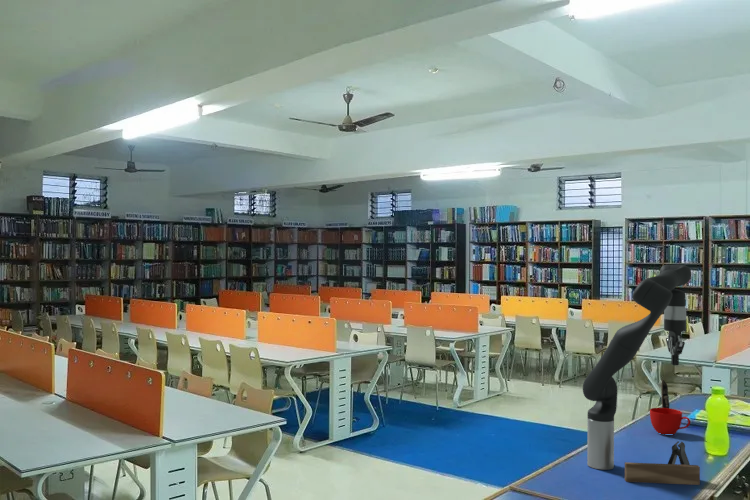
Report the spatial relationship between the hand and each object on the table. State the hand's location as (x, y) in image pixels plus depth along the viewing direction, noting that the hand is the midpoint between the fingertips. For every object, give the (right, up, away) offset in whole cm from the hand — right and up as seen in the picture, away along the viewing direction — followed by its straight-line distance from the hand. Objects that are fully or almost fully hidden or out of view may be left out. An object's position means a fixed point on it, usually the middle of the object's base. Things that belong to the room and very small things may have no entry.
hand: (674, 364), depth 240 cm
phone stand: (-6, -37, -15) cm, 40 cm away
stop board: (-14, -36, -20) cm, 44 cm away
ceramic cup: (+18, -38, +43) cm, 60 cm away
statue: (+28, -39, +67) cm, 82 cm away
